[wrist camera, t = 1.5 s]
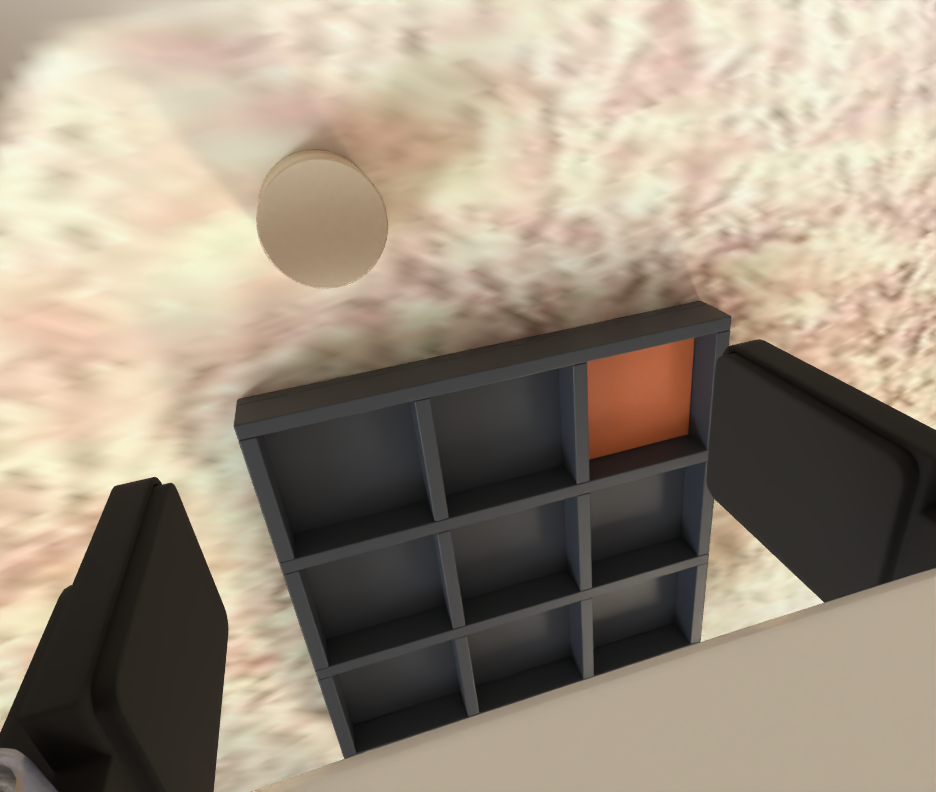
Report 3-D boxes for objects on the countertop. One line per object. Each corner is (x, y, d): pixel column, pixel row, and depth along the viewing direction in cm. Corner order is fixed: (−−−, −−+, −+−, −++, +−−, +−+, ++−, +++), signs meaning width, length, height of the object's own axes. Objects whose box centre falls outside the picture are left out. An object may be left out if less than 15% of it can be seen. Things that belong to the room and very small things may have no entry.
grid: (236, 399, 26) (233, 426, 24) (700, 300, 30) (732, 315, 28) (342, 727, 37) (346, 765, 35) (678, 620, 41) (700, 649, 39)
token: (244, 158, 23) (240, 168, 20) (365, 141, 23) (376, 148, 21) (275, 276, 25) (275, 299, 22) (385, 257, 25) (397, 276, 23)
